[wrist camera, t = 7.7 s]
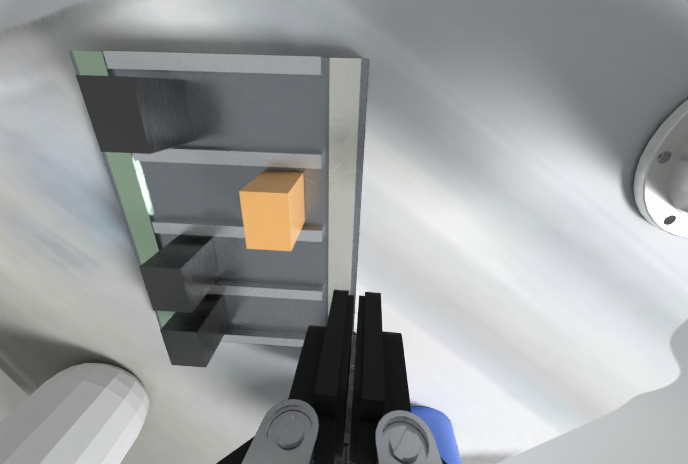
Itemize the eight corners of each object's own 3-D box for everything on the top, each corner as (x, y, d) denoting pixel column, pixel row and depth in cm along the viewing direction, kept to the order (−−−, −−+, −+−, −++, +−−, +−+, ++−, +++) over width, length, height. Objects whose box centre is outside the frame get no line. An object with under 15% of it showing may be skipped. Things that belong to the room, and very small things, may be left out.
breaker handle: (303, 172, 22) (288, 193, 18) (304, 220, 24) (291, 251, 19) (264, 170, 22) (239, 191, 18) (268, 218, 24) (246, 248, 19)
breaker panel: (368, 61, 20) (370, 49, 14) (353, 329, 31) (350, 389, 25) (93, 54, 21) (-20, 39, 15) (172, 317, 32) (126, 373, 26)
